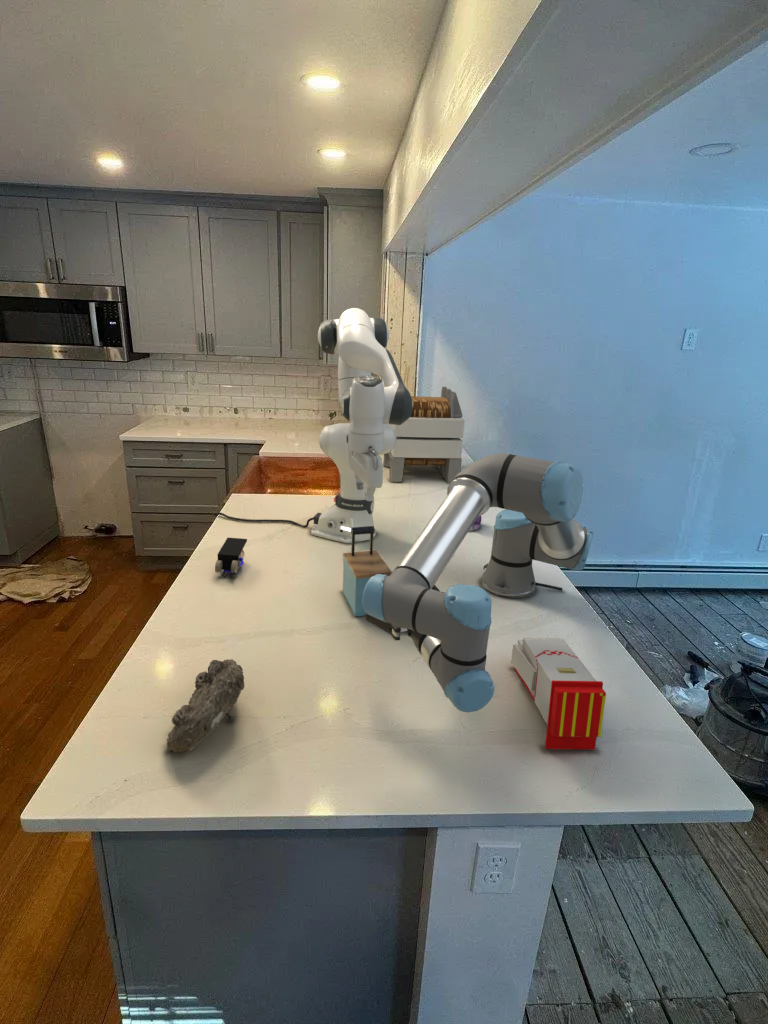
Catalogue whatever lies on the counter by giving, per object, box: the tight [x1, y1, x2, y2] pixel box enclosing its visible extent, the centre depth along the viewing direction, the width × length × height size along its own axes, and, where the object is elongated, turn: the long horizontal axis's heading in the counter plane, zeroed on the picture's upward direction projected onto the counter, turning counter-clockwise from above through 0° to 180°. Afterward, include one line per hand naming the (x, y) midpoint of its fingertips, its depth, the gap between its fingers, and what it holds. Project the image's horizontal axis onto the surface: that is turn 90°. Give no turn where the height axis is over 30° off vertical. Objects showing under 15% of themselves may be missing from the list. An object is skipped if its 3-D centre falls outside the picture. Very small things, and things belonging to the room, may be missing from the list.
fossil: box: [166, 658, 245, 754], centre depth 106 cm, size 22×10×15 cm
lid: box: [342, 525, 393, 579], centre depth 148 cm, size 14×10×9 cm
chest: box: [342, 556, 390, 617], centre depth 151 cm, size 14×10×11 cm
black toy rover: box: [214, 537, 248, 578], centre depth 166 cm, size 7×8×15 cm
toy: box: [510, 637, 607, 751], centre depth 115 cm, size 12×13×30 cm
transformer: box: [382, 386, 465, 484], centre depth 268 cm, size 34×33×41 cm
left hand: (364, 494), depth 148 cm, fingers open, 8 cm apart
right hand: (401, 591), depth 123 cm, fingers open, 13 cm apart
